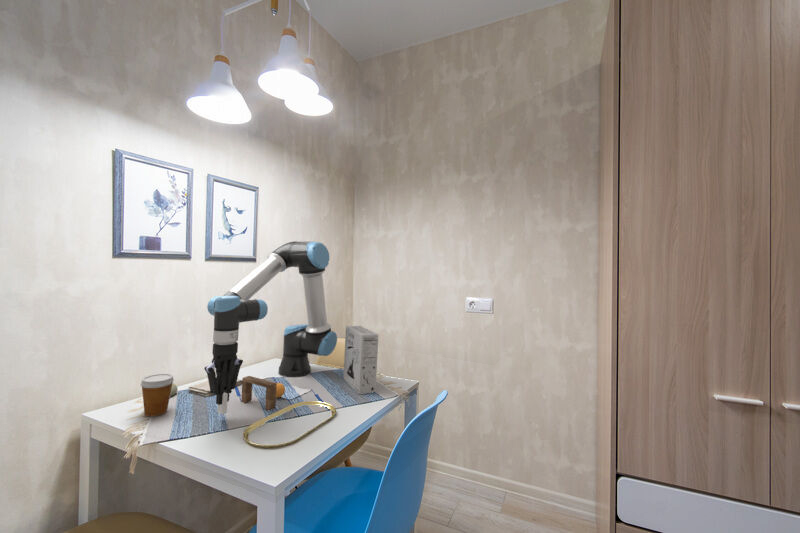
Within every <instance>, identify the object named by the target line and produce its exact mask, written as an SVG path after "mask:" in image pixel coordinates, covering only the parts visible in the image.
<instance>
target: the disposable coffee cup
mask: <svg viewBox="0 0 800 533" xmlns="http://www.w3.org/2000/svg"><path fill="white" fill-rule="evenodd" d="M174 381H175V378H174V376H173V374H170V373H157V374H151V375H147V376H144V377H143V378H142V379H141V382H140V386H141V391H142V399H143V409H144V410H143V411H144V416H145V417H157V416H161V415H165V414H166V413H167V412H168V407H169V403H170V397H171V396H170V393H171V387H172V383H173V384H174Z"/></svg>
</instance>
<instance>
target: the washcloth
mask: <svg viewBox="0 0 800 533" xmlns="http://www.w3.org/2000/svg"><path fill="white" fill-rule="evenodd" d="M239 386H242V379H239V378H237V382H236V386H235V388H236V387H239ZM187 389H188V390H187V392H188V393H191V394H193V395H198V396H202V397H204V398H206V397H211V396H213V395H215V394H212V393H211V391H210V386H209V381H208V380H206V381H203V382H200V383H197V384H193V385H190V386H188V387H187Z"/></svg>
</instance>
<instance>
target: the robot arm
mask: <svg viewBox="0 0 800 533" xmlns="http://www.w3.org/2000/svg"><path fill="white" fill-rule="evenodd" d="M329 262H330V252H329V250H328V248H327V246H325V244H324V243H322V242H318V241H290V242H287V243H284V244H282V245H281V246H279V247H277V248H276V249H275V250H273V251H272V252H270V253H269V254H268V256H267V258H266V259H265V260H264V261H263V262H262V263H261V264H260V265H258V266H257V267H256V268H255V269H253V271H251V272H249V274H248V275H246V276H245V277H244V278H242V280H240V281H238V283H237V284H236V285H234V286H233V287H232V288H231V289H229V290H228V291H226V292H225V293H224V294H223V295H219V296H213V297H212V298H211V299H209V301H208V303H207V306H206V308H207V311H208V313H209V314H210V315H211V316H213V317H214V318H213V332H212V333H213V334H212V335H213V336H212V342H213V344H212V360H211V363H210V364H209V365H208V366H204V371H205V373H206V374H207V381H209V386H210V391H211V393H212V394H214V395H215V396H216V397H215V398H216V400H215V403H216V405H217V414H220V415H225V414H227V413H228V402H229V401H230V394H232V392H233V390H235V389H236V387H237V386H236V382H237V379H239V378H238V377H239V373H240V369H241V366H242V364H243V363H244V360H243V359H240V358H238V355H237V354H238V349H239V343H238V341H239V329H240V323H245V322H247V323H248V322H254V321H260V320H262V319H264V318H266V316H268V311H269V309H268V304H267V302H266V301H265V300H263V299H258V298H257V299H256V298H253V299H251V298H252V297H254V296H255V295H256V294H257V293H258V292H259V291H260V290H261V289H262V288H263V287H265V286H266V285H267V284H268V283H269V282H270V281H271V280H273V278H275V277H276V276H277V275H278V274H279V273H283V272H285V271H286V270H287V269H289V268H297V269H298V273H299V275H301V276H302V278H303V281H302V282H303V289H304V296H305V297H304V298H305V307H306V316H307V323H305V324H294V325H287V326H286V327H285V328H284V332H283V348H282V349H283V350H282V351H283V352H282V358H281V362H280V365H279V367H278V375H280V376H283V377H291V378H292V377H293V378H296V377H304V376H307V375H309V374H310V373H311V371H312V370H311V368H312V367H311V365H310V364H311V363H310V359H309V356H308V354H309V355H310V354H311V355H316V356H319V357H321V356H324V357H328V356H330V355H331V354H332V353H333V352H334V350H335V348H336V346H337V342H338V335H337V333H336V332H335V331H333V330H332V327H331V326H332V325H331V324H330V323H329V322H328V320H327V319H328V318H327V309H326V299H325V289H324V279H323V273H325V272H326V268H327V267H328V266H329ZM235 386H236V387H235Z"/></svg>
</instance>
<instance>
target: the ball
mask: <svg viewBox="0 0 800 533" xmlns="http://www.w3.org/2000/svg"><path fill="white" fill-rule="evenodd" d="M276 383H277V388H276V399H278V397H281V396H282V395H283V394H284V393H285V387H284V386H285V385H284V384H283V383H281V382H276Z"/></svg>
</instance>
